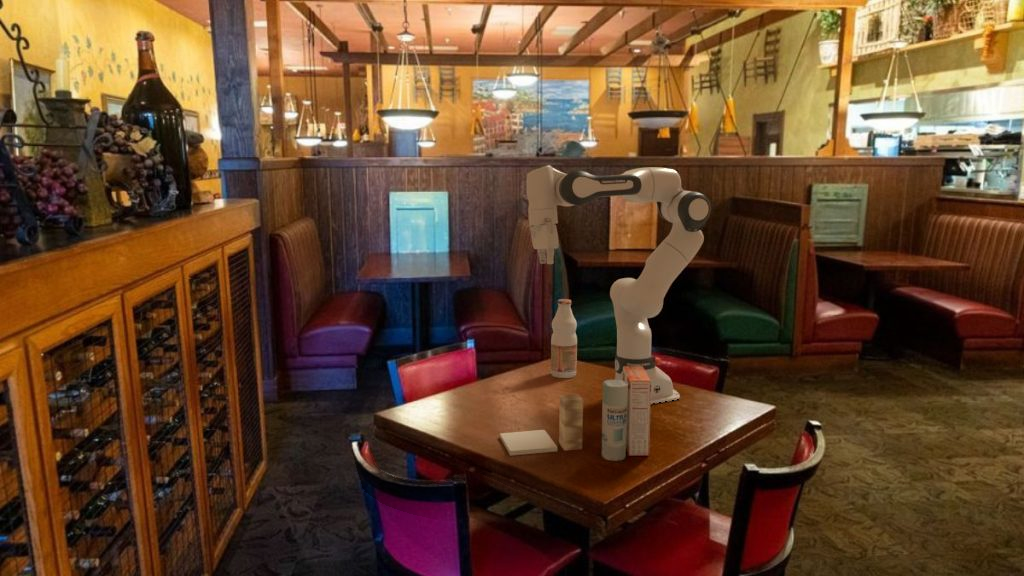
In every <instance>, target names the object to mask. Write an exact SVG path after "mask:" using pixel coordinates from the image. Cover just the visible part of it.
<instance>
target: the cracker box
mask: <svg viewBox="0 0 1024 576" xmlns="http://www.w3.org/2000/svg"><path fill="white" fill-rule="evenodd" d="M623 381H625V382H627V383H628V400H627V428H626V452H627V456H629V457H639V456H640V457H649V456H650V440H651V439H650V436H651V434H650V433H651V428H650V427H651V404H650V401H651V381H650V379H649V377H648V375H647V373H646V372H645V370H644V368H643V366H623Z"/></svg>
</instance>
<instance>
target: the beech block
mask: <svg viewBox="0 0 1024 576" xmlns="http://www.w3.org/2000/svg"><path fill="white" fill-rule="evenodd" d="M583 413H584V399H583V398H582V397H581V396H580V395H579V394H578V393H567V394H559V413H558V414H559V424H558V426H559V427H558V429H559V430H558V432H559V433H558V443H559V446H560V447H561V448H562V449H563V451H565V452H566V451H574V450H575V451H576V450H577V451H578V450H583V433H584V432H583V431H584V430H583V425H584V424H583V420H584V417H583V416H584V414H583Z"/></svg>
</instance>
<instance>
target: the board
mask: <svg viewBox="0 0 1024 576" xmlns="http://www.w3.org/2000/svg"><path fill="white" fill-rule="evenodd" d="M499 438H500V441H501V442H502V444H503V445H504V447H505V449H506V450H507V451H506V452H508V454H509V456H520V455H529V454H542V453H551V452H558V445H557V444H556V443H555V441H553V439H552V438H551V437H550V435H549V434H548V432H547V431H546V430H545V429H538V430H535V429H534V430H527V431H526V430H525V431H512V432H502V433H499Z"/></svg>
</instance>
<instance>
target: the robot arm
mask: <svg viewBox="0 0 1024 576" xmlns="http://www.w3.org/2000/svg"><path fill="white" fill-rule="evenodd" d="M525 182H526V186H525V187H526V198H527V200H528V208H527V210H528V211H527V213H528V219H527V224H528V225H527V226H528V227H529V228H530V231H529V232H530V238H531V243H532V247H533V250H537V254H538V257H539V263H540V264H541V265H543V264H547V265H553V264H554V258H555V249H558V248H559V236H558V229H557V228H558V227H557V225H556V224H559V221H558V220H559V219H558V218H559V217H558V206H562V207H572V206H582V205H584V204H587V203H589V202H590V201H592V200H594V199H596V198H597V199H598V198H603V197H604V198H607V197H622V199H624V201H626V202H628V203H634V204H635V203H636V204H637V203H638V204H641V203H642V204H644V203H654V202H655V203H656V206H657V211H658V214H659V216H660V217H661V219H663V220H664V221H665V222H667V223H670V224H672V227H671V230H670V232H669V234H668V235H667V236H666V237H665V238H664V239H663V240H662V241H661V242H660V244H659V245H658V246H657V247H656V248H655V250H654V251H652V253H651V254H650V255H649V256H648V257H647V258H646V261H645V265H644V268H643V270H642V272H641V274H640V275H639V276H638V278H636V279H635V278H634V277H624V278H619V279H617V280H616V281H614V282H613V284H612V285H611V287H610V290H609V297H610V300H611V301H612V305H613V306H612V307H613V313H614V318H615V324H616V325H615V326H616V333H617V334H616V339H617V340H616V354H615V359H614V370H615V377H614V380H622V381H623V366H643V368H644V370H645V372H646V373H647V375H648V377H649V379H650V381H651V401H650V405H654V404H653V403H655V404H660V403H659V402H661V403H666V402H665V401H667V402H673V401H672V400H674V401H678V400H677V399H679V398H680V399H681V395H680V393H679V392H678V391H677V390H676V389H674V385H673V382H672V381H673V380H672V379H671V377H670V376H669V375H668V374H666V373H665V372H664V371H663V370H662V369H660V368H659V367H657V366H656V365H658V366H659V365H661V364H662V359H661V358H660V357H655V356H654V355H652V329H651V328H650V325H649V322H648V319H651V318H655V317H656V316H658V315H659V314H660V312H662V309H663V308H664V307H663V305H664V298H665V297H666V294H667V293H668V291H669V289H670V287H671V286H672V284H673V282H674V281H675V280H676V279H677V277H678V276H679V275H680V274H681V273H682V271H683V270H684V269H685V268H686V267H687V266H688V264H689V263H690V262H691V261H692V260H693V259H694V257H695V256H696V255H697V254H698V252H699V250H700V249H701V247H702V245H703V243H704V240H705V238H704V237H705V236H704V234H703V231H702V230H703V229H704V228H705V226H706V223H707V221H708V219H709V217H710V215H711V212H712V211H711V210H712V206H711V202H710V200H709V199H708V197H707V196H706V195H704V194H703V193H701V192H698V191H691V190H685V189H683V186H682V179H681V176H680V173H678V171H676V170H675V169H673V168H668V167H659V166H658V167H656V166H654V167H653V166H651V167H649V166H648V167H647V166H646V167H638V168H633V169H629V170H626V171H624V172H623V173H621V174H615V175H614V174H610V175H594V174H591V173H589V172H587V171H583V170H572V171H571V172H569V173H565V172H562V171H560V170H558V169H556V168H554V167H553V166H551V165H549V164H544V165H540V166H536V167H533V168H531V169H530V170H529V171H528V172H527V174H526V181H525ZM680 399H679V400H680Z"/></svg>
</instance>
